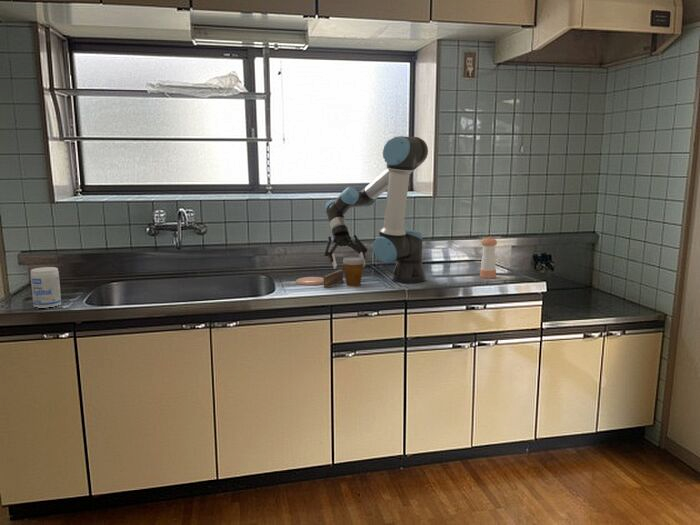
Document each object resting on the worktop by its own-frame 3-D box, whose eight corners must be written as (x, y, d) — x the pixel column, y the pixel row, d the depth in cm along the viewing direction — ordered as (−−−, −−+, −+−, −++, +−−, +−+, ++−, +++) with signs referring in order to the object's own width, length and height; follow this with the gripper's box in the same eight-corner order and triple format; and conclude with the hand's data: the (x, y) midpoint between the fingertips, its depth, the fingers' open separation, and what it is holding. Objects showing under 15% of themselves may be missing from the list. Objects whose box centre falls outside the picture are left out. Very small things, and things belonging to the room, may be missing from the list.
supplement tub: (32, 310, 208) (27, 272, 205) (35, 304, 216) (30, 267, 213) (61, 307, 212) (57, 270, 209) (62, 301, 220) (58, 265, 217)
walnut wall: (342, 280, 255) (342, 269, 254) (326, 287, 241) (326, 276, 240) (340, 280, 256) (339, 269, 255) (323, 287, 241) (323, 276, 240)
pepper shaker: (486, 279, 256) (488, 238, 253) (476, 276, 263) (478, 236, 259) (498, 277, 259) (500, 237, 255) (489, 274, 266) (490, 235, 262)
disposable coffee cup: (364, 282, 250) (364, 256, 248) (363, 287, 241) (363, 260, 239) (344, 282, 251) (343, 256, 249) (341, 287, 242) (341, 260, 240)
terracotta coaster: (334, 279, 256) (334, 278, 256) (318, 286, 243) (318, 285, 243) (306, 277, 263) (306, 275, 263) (289, 283, 249) (289, 282, 249)
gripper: (362, 232, 265) (373, 269, 254) (312, 235, 257) (321, 273, 246) (366, 222, 259) (378, 259, 248) (315, 225, 251) (325, 263, 240)
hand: (350, 266), depth 247 cm, fingers open, 13 cm apart
